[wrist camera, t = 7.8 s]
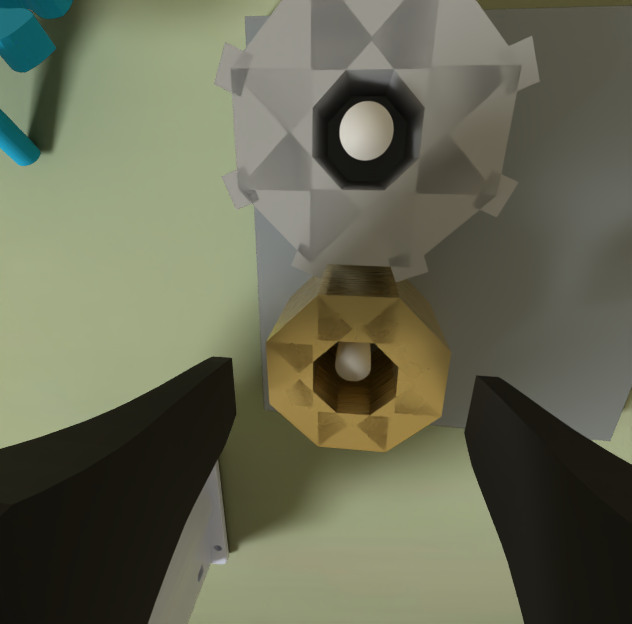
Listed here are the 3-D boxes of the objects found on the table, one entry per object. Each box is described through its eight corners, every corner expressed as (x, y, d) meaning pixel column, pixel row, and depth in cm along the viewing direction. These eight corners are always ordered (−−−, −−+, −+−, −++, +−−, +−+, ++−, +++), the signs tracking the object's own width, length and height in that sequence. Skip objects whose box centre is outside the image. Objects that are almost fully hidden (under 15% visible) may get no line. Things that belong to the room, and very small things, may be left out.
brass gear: (434, 262, 14) (459, 300, 10) (419, 387, 16) (435, 456, 12) (288, 258, 14) (262, 292, 11) (292, 379, 17) (271, 442, 13)
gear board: (594, 422, 17) (699, 544, 12) (270, 395, 19) (231, 490, 13) (747, 8, 11) (1101, -131, 6) (254, 21, 13) (174, -77, 7)
